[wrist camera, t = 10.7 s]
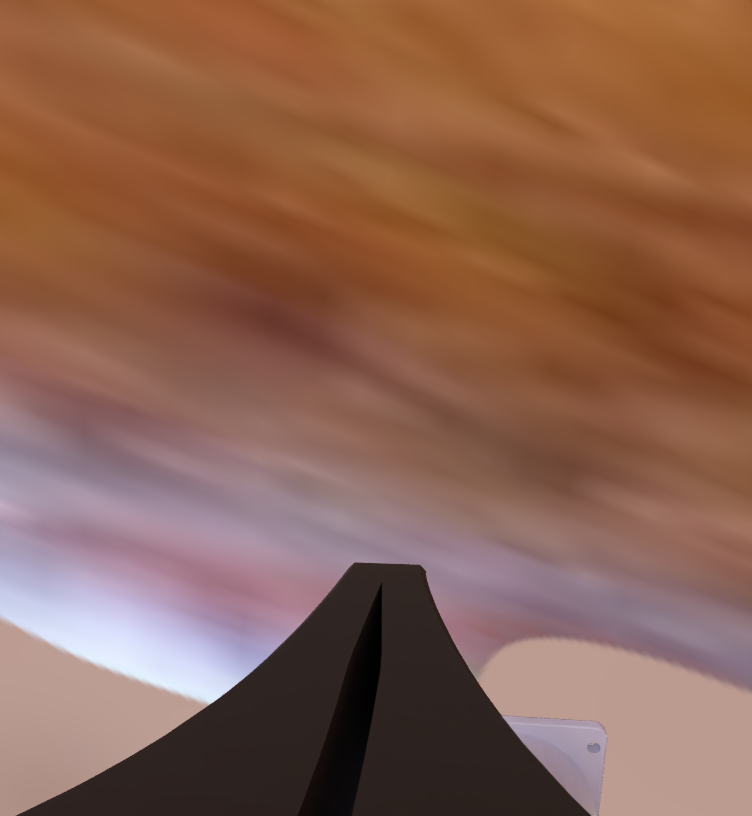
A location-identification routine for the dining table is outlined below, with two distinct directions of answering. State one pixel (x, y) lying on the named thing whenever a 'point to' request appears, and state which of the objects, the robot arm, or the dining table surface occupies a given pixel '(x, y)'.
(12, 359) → the dining table surface
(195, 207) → the dining table surface
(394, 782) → the robot arm
